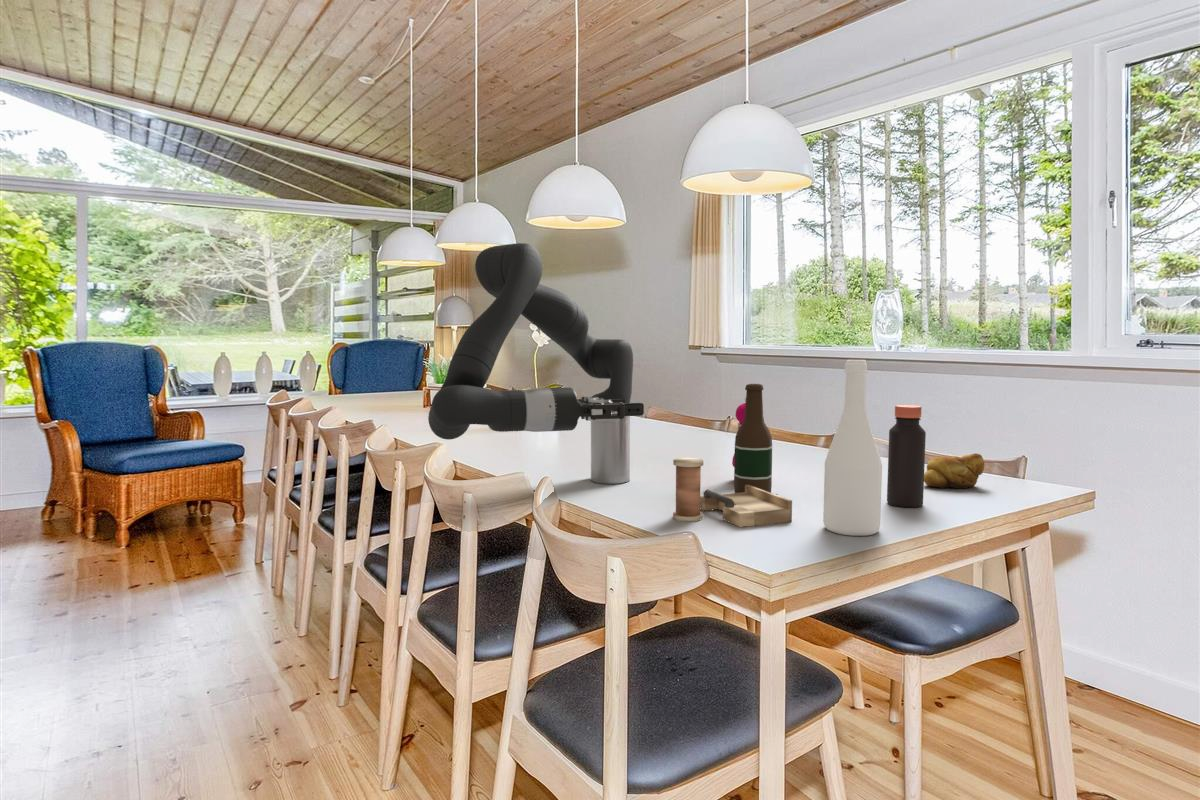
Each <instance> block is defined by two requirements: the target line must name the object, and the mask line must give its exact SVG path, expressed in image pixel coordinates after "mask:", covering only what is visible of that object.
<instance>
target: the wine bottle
mask: <svg viewBox="0 0 1200 800" xmlns="http://www.w3.org/2000/svg"><path fill="white" fill-rule="evenodd" d="M844 373H845V387H844V389H845V390H844V391H845V392H844V406H843V410H842V414H841V416H840V419H839V422H838V424H837V428H836V431H835V433H834V435H833V439H832V440H831V444H830V446H829V448H828V451H827V453H826V457H825V460H824V472H823V473H824V474H823V475H824V476H823V477H824V479H823V481H824V482H823V484H824V485H823V512H822V513H823V518H822V519H823V526H824V527H825V528H826V530H828V531H830V532H832V533H834V534H835V533H836V534H838V535H844V536H852V537H854V536H855V537H864V536H865V537H866V536H872V535H875V534H876V533H878V531H880V528H881V518H882V517H881V515H882V514H881V512H882V485H883V483H882V482H883V481H882V480H883V463H882V459H881V455H880V451H879V448H878V446H877V443H876V439H875V436H874V434H873V431H872V430H873V429H872V427H871V423H870V420H869V418H868V413H867V409H866V374H867V373H868V364H867V361H866V359H846V363H844Z"/></svg>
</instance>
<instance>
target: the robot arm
mask: <svg viewBox="0 0 1200 800" xmlns="http://www.w3.org/2000/svg"><path fill="white" fill-rule="evenodd" d="M474 268H475V269H474V270H475V273H476V277H477V280H478V282H479V284H480V285H481V286H482V288H483V289H484V290H485V291H486V292H487V293H488V294H490V296H492V297H494V298H495V299H494V301H493V302H492V303H491V304H490V305H489V306H488V307H487V308H486V310H484V311H483V312H482V313H481V314H480V315H479V316H478V317H477V318H476V319H475V320H474V321H473V322H472V323H471V324H470V325H469V327H467V329H466V330H465V331H464V333H463V335H462V336H461V338H460V339H459V342H458V344H457V346H456V348H455V350H454V353H453V355H452V357H451V360H450V362H449V364H448V365H449V366H448V368H447V373H446V376H445V378H444V381H443V384H442V386H441V388H440V389H439V390H438V391H437V392H436V393H435V395H434V396H433V399H432V400H431V405H430V409H429V412H428V417H427V418H428V425H429V428H430V430H431V432H432V433H433V434H434V435H435V436H437V437H438V438H440V439H443V440H448V441H449V440H454V439H455V440H456V439H457V438H459V437H461V436H463V435H464V434H465V433H466V432H467V431H468V429H469V427H470V425H479V426H480V425H481V426H487V427H488V428H489V429H490V430H492V431H494V432H499V433H500V432H501V433H503V432H505V433H506V432H507V433H508V432H530V433H531V432H534V433H536V432H538V433H540V432H541V433H542V432H565V431H567V432H568V431H573V430H575V429H576V427H577V426H578V423H579V422H578V420H579V419H580V420H585V421H590V480H591V482H594V483H597V484H607V485H608V484H613V485H614V484H623V483H624V484H625V483H628V482H630V480H631V479H630V476H631V473H630V472H631V471H630V470H631V469H630V468H631V429H630V428H631V421H630V420H631V417H636V416H637V417H639V416H643V415H644V413H645V407H644V403H642V402H631V398H632V394H633V393H632V388H633V372H634V353H633V349H632V346H631V344H630V342H629V341H627V340H625V339H614V338H612V339H610V338H609V339H608V338H607V339H606V338H604V339H603V338H602V339H601V338H595V337H593V336H592V335H590V334H588V333H589V318H588V316H587V314H586V312H585V311H584V309H582V307H581V306H580V305H579V304H578V303H577V302H576V301H575V300H573V299H572V298H571V297H570V296H568V295H567V294H566V293H564V292H562V291H560V290H558V289H557V290H556V289H554V288H552V287H549V286H547V285H543V284H540V283H541V278H542V275H543V261H542V258H541V255H540V253H539V251H538V250H537V248H536V247H535V246H533V245H532V244H530V243H527V242H525V243H522V242H519V243H518V242H517V243H508V244H501V245H500V244H499V245H493V246H491V247H490V246H489V247H487V248H484V249H483V250H482V251H481V252H480V253H478V255H477V257H476V260H475V265H474ZM521 315H522V317H524V318H525V319H527V321H529V322H530V323H531V324H533V326H535V327H537V328H538V329H539V330H540V331H541V332H542V333H543V334H544V335H546V336H547V338H549V339H550V340H551V341H553V342H554V343H556V344H557V345H558V346H559V347H560V348H561V349H563V351H564V352H566V353H567V354H569V356H570V357H571V358H573V360H574V361H575V362H576V363H577V364H578V365H579V366H580V368H581V369H582V370H583V371H584V373H586V374H587V375H588V376H590V377H591V378H595V379H599V380H600V379H605V380H610V381H609V386H608V387H607V388H606V389H605V390H603V391H601V392H598V393H595V394H593V395H592V396H581V397H580V398H578V394H577V392H576V390H575V389H574V388H572V387H536V388H529V389H512V390H511V389H509V390H493V389H491V388H485V386H486V383H487V382H488V380H489V378H490V375H491V373H492V371H493V369H494V366H495V364H496V361H497V359H498V356H499V353H500V351H501V349H502V346H503V345H504V343H505V340H506V339H507V337H508V335H509V333H510V332H511V330H512V328H513V327H514V325H515V324H516V322H517V321H518V319H519V318H520V316H521Z"/></svg>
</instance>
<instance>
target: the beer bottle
mask: <svg viewBox="0 0 1200 800" xmlns="http://www.w3.org/2000/svg"><path fill="white" fill-rule="evenodd" d="M763 390H764V385H763V384H760V383H749V384H746V386H745V391H746V393H745V394H746V395H745V398H746V402H745V403H746V405H745V416H744V421H743V423H742V425H741V426H740V428H739V429H737V432H736V435H735V438H734V439H735V440H734V453H735V462H734V467H733V468H734V471H733V472H734V474H733V477H734V478H733V481H734V482H733V487H734V488H733V489H734V492H733V493H743V492H745V485H751V486H753V487H756V488H759V489H762V490H765V491H767V492H770V493H772V485H773V484H772V482H773V481H772V480H773V479H772V478H773V473H772V472H773V437H772V435H771V431H770V428H769V427H768V426H767V424H766V423H765V419H764V418H765V417H764V406H763V405H764V403H763Z"/></svg>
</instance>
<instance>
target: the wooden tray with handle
mask: <svg viewBox="0 0 1200 800" xmlns="http://www.w3.org/2000/svg"><path fill="white" fill-rule="evenodd" d="M700 508H701V509H700V510H702V509H703V510H702V511H704V510H710V511H713V510H712V509H720V510H722V511H723V512H722V511H721V512H722V520H723V519H725V520H727V521H729V522H731V523H730V524H732V523H733V524H732V525H734V524H735V525H734V526H736V525H737V526H736V527H738V526H739V527H738V528H744V527H743V526H747V527H754V526H755V525H757V526H766V525H773V524H783V523H791V522H792V521H793V518H792V517H793V500H792V499H790V498H787V497H785V496H781V495H779V494H775V493H773V492H771V493H770V492H767V491H765V490H762V489H759V488H756V487H753V486H751V485H745V492H743V493H734V492H733V493H732V492H731V493H724V494H723V493H722V494H721V493H717V492H716V491H712V490H710V489H705V490H704V491H703V495H700ZM720 510H719V511H720ZM725 520H724V521H725ZM727 521H726V522H727ZM729 522H728V523H729Z"/></svg>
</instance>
